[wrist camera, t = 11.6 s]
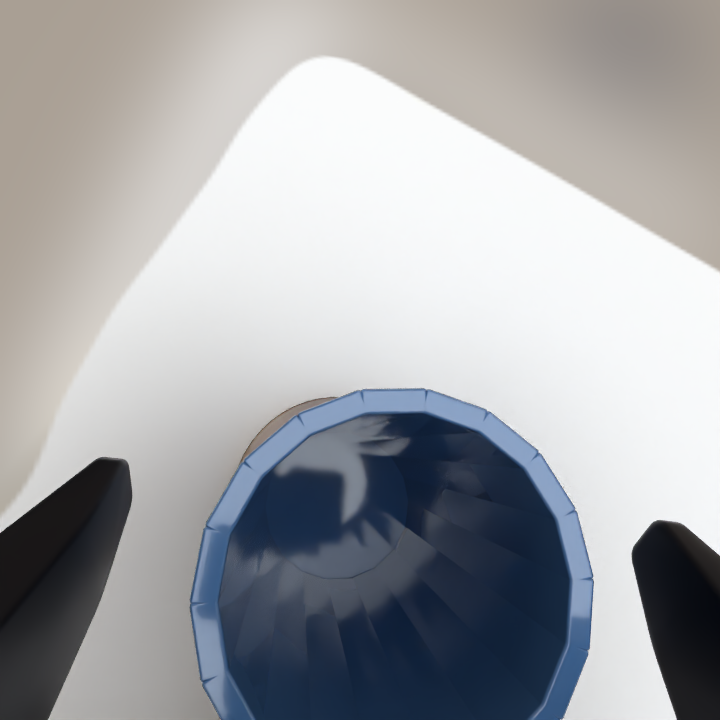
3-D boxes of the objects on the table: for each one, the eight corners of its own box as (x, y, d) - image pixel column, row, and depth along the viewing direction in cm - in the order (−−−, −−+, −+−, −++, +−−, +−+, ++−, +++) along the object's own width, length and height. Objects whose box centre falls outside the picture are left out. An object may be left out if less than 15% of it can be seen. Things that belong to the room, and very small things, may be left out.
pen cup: (349, 619, 19) (443, 922, 7) (223, 515, 19) (94, 637, 7) (443, 488, 20) (664, 551, 8) (324, 392, 20) (366, 310, 8)
